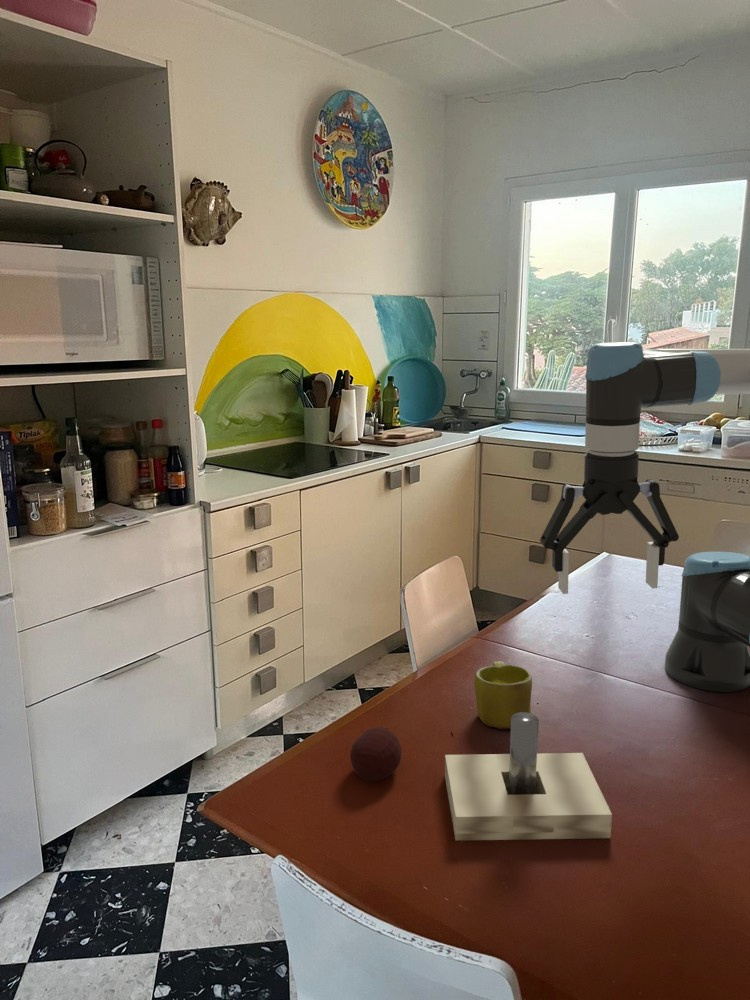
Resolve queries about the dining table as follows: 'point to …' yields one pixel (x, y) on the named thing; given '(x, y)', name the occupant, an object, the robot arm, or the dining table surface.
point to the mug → (502, 693)
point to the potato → (376, 754)
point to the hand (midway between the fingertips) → (607, 588)
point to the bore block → (525, 799)
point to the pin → (523, 754)
